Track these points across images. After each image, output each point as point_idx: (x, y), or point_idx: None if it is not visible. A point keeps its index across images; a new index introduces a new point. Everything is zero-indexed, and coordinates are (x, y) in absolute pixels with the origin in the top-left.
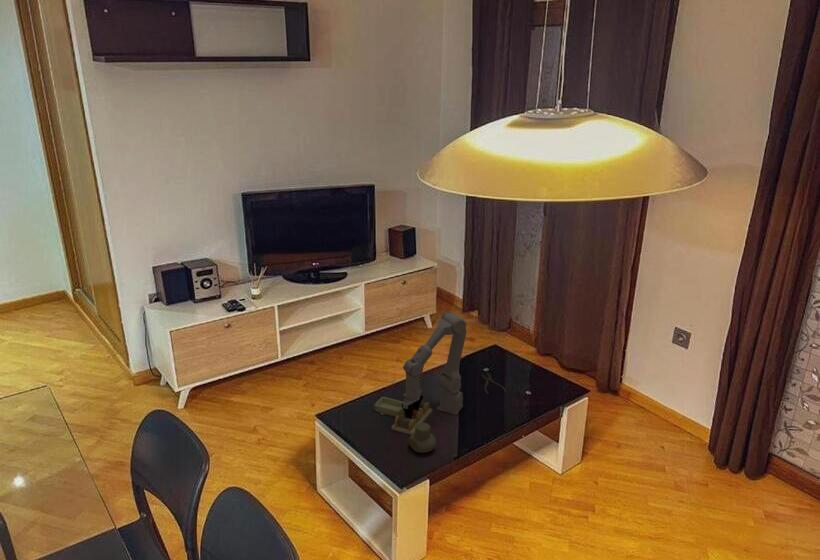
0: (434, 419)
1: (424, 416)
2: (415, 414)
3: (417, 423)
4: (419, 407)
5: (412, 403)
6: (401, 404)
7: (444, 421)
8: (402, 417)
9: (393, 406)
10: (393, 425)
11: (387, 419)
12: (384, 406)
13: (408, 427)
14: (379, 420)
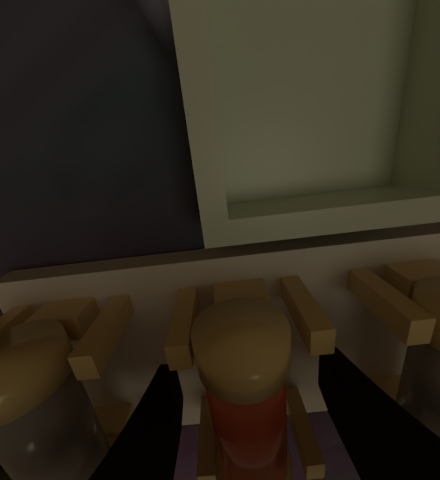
0: (326, 425)
1: (311, 404)
2: (220, 463)
3: (195, 410)
4: (398, 390)
5: (394, 451)
6: (430, 144)
7: (330, 465)
8: (7, 460)
9: (382, 31)
10: (22, 287)
11: (110, 136)
12: None
13: (101, 392)
14: (24, 57)
